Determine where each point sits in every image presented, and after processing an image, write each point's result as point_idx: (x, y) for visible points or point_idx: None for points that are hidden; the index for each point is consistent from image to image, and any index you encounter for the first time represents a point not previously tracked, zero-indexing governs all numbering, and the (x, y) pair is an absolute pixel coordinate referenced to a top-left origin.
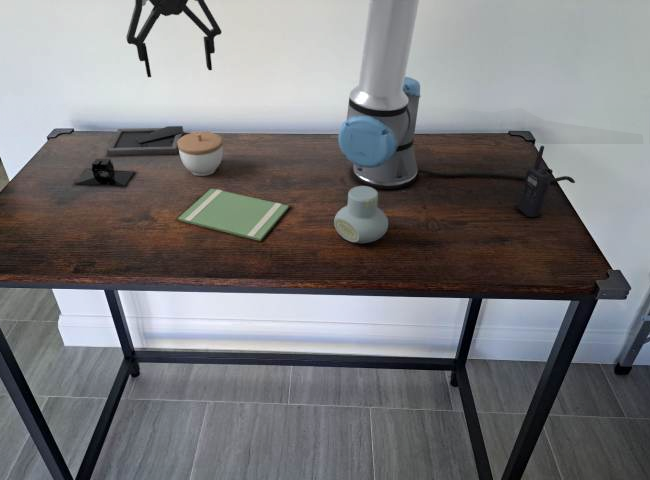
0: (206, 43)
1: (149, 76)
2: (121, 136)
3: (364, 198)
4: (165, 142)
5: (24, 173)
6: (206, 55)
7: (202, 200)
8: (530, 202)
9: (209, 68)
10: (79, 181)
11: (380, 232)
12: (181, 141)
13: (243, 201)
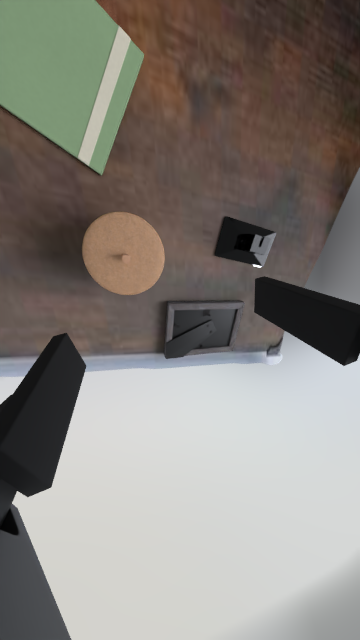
0: (9, 424)
1: (262, 277)
2: (229, 337)
3: None
4: (182, 323)
5: (313, 267)
6: (61, 382)
7: (108, 124)
8: None
9: (60, 336)
10: (272, 236)
11: None
12: (157, 256)
13: (20, 92)
